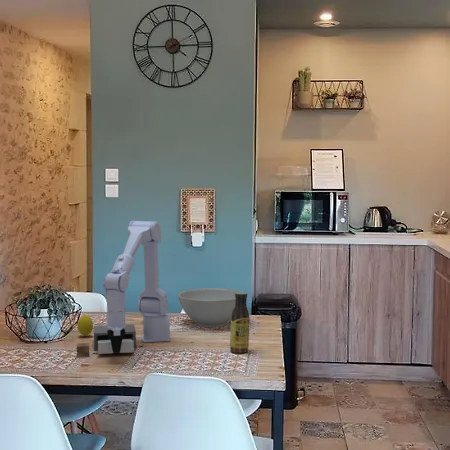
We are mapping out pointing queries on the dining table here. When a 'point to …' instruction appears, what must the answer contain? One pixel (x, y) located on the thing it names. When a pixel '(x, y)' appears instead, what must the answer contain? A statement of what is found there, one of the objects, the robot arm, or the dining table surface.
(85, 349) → the walnut block
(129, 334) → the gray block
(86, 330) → the lemon
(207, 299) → the decorative bowl
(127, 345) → the tray
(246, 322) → the sauce bottle
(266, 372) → the dining table surface
